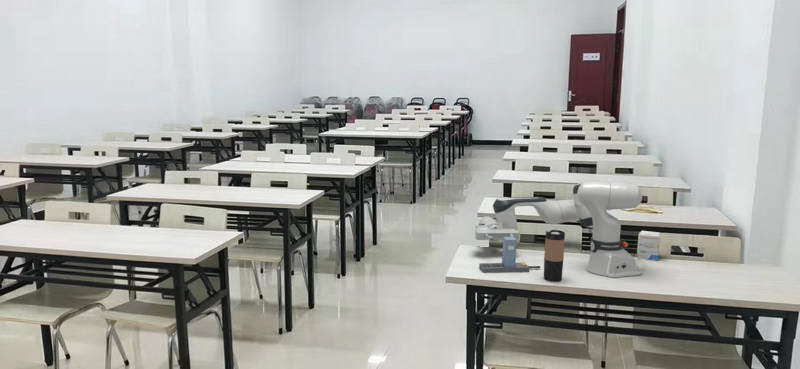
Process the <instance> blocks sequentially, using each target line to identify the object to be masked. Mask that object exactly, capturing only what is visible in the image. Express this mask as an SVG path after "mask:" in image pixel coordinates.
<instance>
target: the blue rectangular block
mask: <svg viewBox="0 0 800 369" xmlns="http://www.w3.org/2000/svg"><path fill="white" fill-rule="evenodd" d="M517 241H518V239H517V240H516V239H515V238H514V237H503V240H502V255H501V256H502V257H501V258H502V259H501V263H502V266H503V267H515V264H516V263H517V260H516V259H517Z"/></svg>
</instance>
